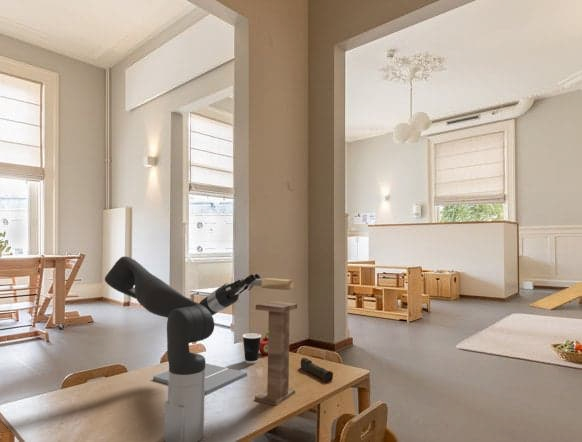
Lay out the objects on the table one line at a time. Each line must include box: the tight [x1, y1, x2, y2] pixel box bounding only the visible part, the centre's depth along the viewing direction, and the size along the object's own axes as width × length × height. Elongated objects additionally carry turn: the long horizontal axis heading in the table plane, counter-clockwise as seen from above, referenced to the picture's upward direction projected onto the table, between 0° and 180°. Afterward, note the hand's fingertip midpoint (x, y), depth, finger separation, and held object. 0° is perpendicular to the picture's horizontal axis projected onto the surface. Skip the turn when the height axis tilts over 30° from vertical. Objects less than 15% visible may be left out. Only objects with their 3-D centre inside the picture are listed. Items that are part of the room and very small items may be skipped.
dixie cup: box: [242, 332, 262, 364], centre depth 167 cm, size 8×8×11 cm
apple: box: [259, 330, 268, 355], centre depth 179 cm, size 8×7×10 cm
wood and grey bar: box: [241, 277, 294, 291], centre depth 134 cm, size 4×19×3 cm, turn 59°
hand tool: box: [300, 357, 334, 383], centre depth 152 cm, size 19×4×5 cm, turn 29°
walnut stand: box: [254, 300, 298, 406], centre depth 130 cm, size 12×10×30 cm
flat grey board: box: [152, 362, 248, 396], centre depth 147 cm, size 22×26×1 cm
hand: (256, 276), depth 136 cm, fingers closed on wood and grey bar, 2 cm apart
